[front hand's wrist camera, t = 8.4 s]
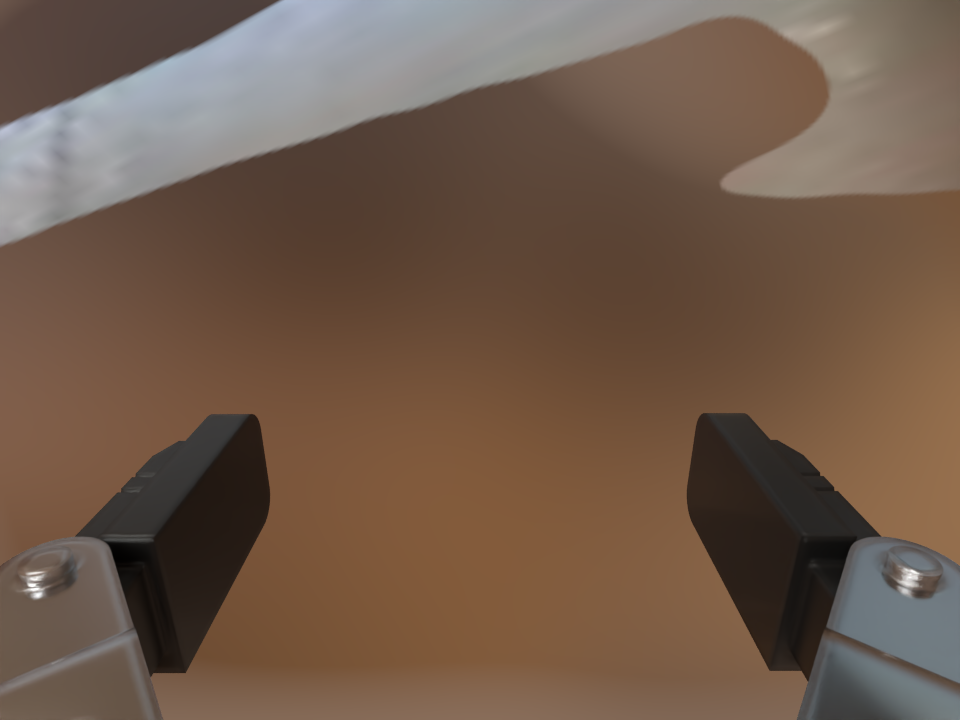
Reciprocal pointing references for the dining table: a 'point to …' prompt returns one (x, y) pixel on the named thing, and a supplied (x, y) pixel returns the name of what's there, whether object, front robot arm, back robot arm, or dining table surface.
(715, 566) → the front robot arm
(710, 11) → the dining table surface
